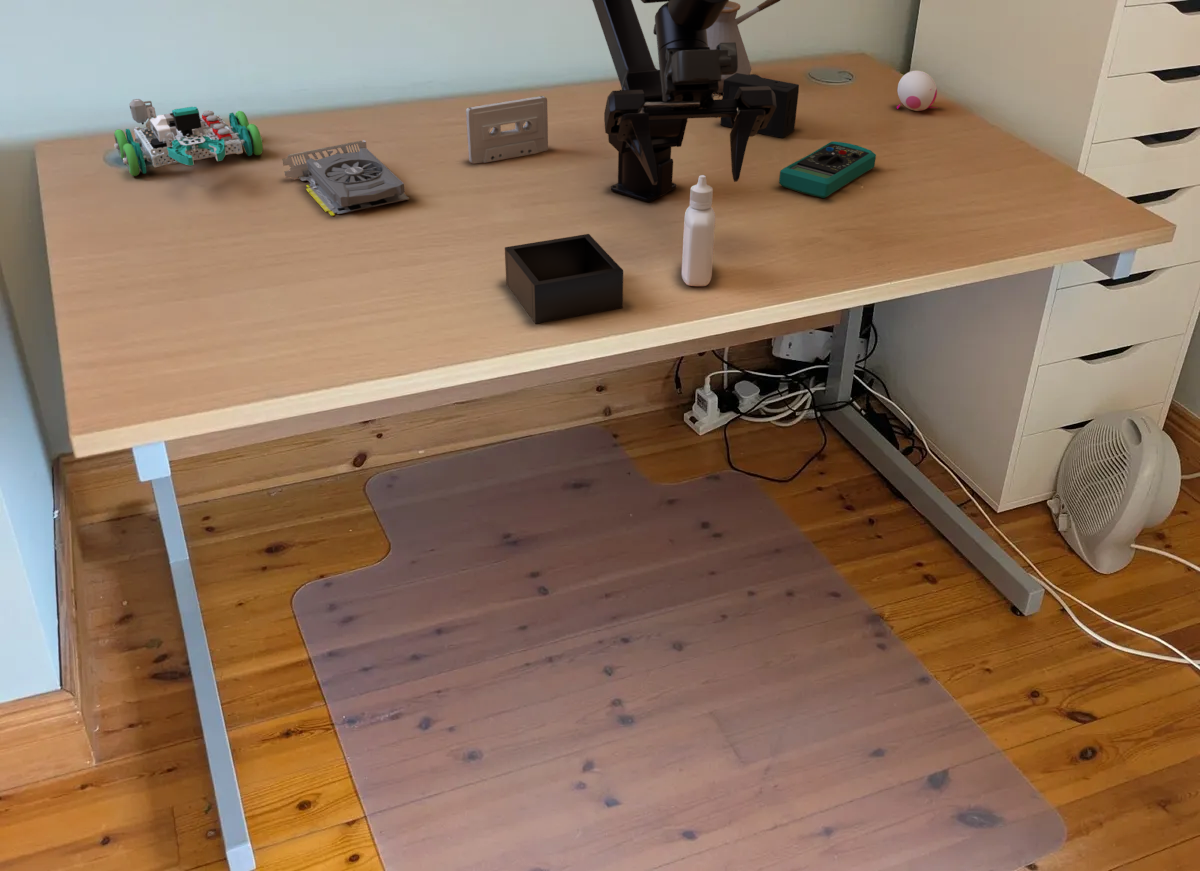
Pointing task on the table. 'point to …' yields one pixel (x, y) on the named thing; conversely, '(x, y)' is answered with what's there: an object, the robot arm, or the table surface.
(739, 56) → the coffee pot
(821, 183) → the digital multimeter
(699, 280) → the eye dropper bottle
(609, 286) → the holder
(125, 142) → the robot kit
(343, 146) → the graphics card
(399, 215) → the table surface
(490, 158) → the cassette
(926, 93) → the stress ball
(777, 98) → the digital camera
